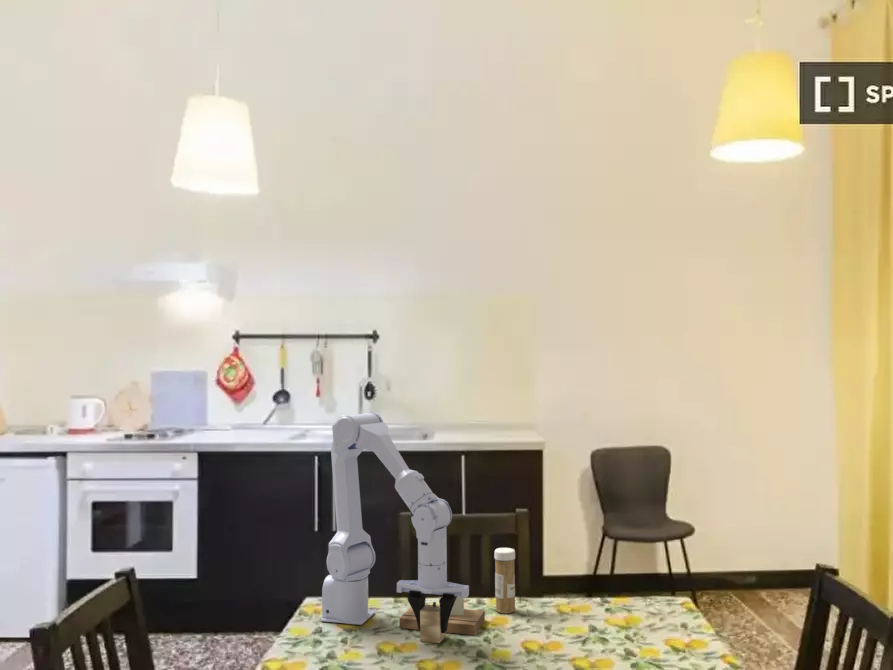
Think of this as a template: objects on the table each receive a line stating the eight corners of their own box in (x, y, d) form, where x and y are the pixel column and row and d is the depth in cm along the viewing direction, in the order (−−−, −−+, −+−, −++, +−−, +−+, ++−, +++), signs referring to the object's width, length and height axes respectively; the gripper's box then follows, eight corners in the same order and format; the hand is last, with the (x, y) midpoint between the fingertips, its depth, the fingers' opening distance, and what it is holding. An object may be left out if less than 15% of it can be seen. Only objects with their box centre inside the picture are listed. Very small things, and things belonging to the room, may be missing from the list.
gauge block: (420, 641, 157) (420, 606, 157) (426, 634, 161) (426, 600, 161) (439, 643, 156) (439, 608, 156) (445, 635, 160) (445, 602, 160)
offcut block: (444, 615, 166) (444, 596, 166) (445, 609, 170) (444, 590, 170) (463, 615, 166) (463, 596, 166) (463, 608, 170) (463, 590, 170)
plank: (399, 627, 164) (399, 617, 165) (413, 613, 173) (413, 604, 173) (474, 635, 160) (474, 624, 160) (484, 620, 169) (484, 610, 169)
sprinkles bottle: (517, 613, 173) (517, 551, 173) (497, 614, 172) (496, 552, 172) (513, 606, 177) (512, 546, 177) (493, 608, 177) (492, 547, 177)
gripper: (391, 564, 157) (391, 634, 156) (462, 570, 153) (462, 641, 152) (403, 555, 163) (403, 622, 163) (471, 560, 159) (471, 628, 159)
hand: (432, 630), depth 158 cm, fingers closed on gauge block, 4 cm apart
